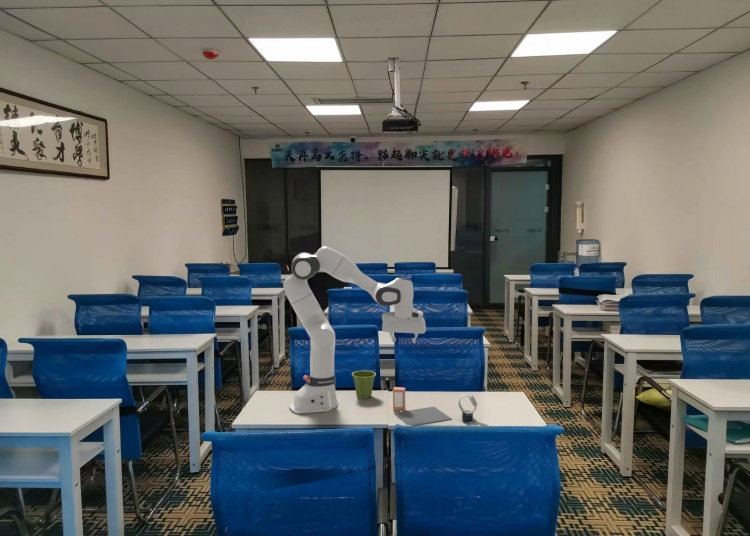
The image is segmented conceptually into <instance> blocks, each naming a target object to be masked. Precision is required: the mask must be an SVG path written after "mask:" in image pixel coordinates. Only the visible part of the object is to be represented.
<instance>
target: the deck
mask: <svg viewBox="0 0 750 536" xmlns="http://www.w3.org/2000/svg"><path fill="white" fill-rule="evenodd" d="M392 411H393V412H399V411H406V387H401V386H398V387H397V386H394V387H393V389H392Z"/></svg>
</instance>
